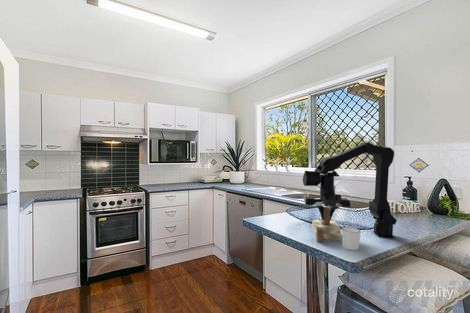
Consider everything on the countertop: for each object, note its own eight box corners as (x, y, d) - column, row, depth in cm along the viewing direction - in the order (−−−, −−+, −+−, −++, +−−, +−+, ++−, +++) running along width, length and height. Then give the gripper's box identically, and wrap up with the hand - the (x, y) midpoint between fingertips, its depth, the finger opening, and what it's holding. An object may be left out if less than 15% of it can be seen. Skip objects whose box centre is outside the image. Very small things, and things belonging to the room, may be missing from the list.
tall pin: (328, 228, 110) (328, 206, 110) (329, 230, 108) (330, 208, 107) (322, 228, 111) (322, 206, 110) (323, 230, 108) (324, 207, 108)
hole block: (334, 231, 114) (334, 220, 113) (340, 239, 104) (340, 228, 103) (312, 230, 115) (312, 219, 115) (316, 238, 105) (316, 226, 105)
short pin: (322, 240, 103) (322, 228, 103) (323, 242, 100) (324, 230, 100) (316, 239, 103) (316, 228, 103) (317, 242, 101) (317, 230, 101)
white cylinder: (354, 252, 92) (355, 234, 91) (337, 245, 97) (338, 228, 97) (363, 247, 96) (364, 230, 95) (346, 242, 101) (347, 225, 101)
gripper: (308, 188, 102) (307, 225, 102) (355, 190, 99) (354, 227, 100) (304, 184, 113) (303, 217, 113) (346, 185, 110) (345, 219, 111)
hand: (326, 220), depth 109 cm, fingers closed on tall pin, 2 cm apart
